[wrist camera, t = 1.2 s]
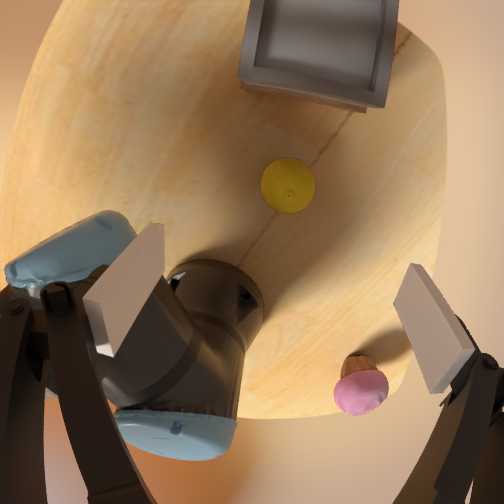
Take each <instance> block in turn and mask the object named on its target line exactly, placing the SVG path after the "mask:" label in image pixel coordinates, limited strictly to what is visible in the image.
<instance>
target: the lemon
mask: <svg viewBox="0 0 504 504" xmlns="http://www.w3.org/2000/svg"><path fill="white" fill-rule="evenodd" d="M261 192H262V195H263V197H264V199H265V201H266V202H267V204H268V205H269V206H270V207H271V208H273V209H274V210H276V211H278V212H280V213H285V214H292V213H296V212H299V211H301V210H303V209H304V208H305V207H306V206H308V205H309V203H310V202H311V200H312V198H313V196H314V192H315V180H314V176H313V174H312V172H311V170H310V169H309V168H308V167H307V166H306V165H305V164H304V163H303V162H301V161H299V160H297V159H293V158H282V159H278V160H276V161H274V162H272V163H271V164H270V165H269V166H268V167H267V168H266V169H265V171H264V173H263V175H262V178H261Z"/></svg>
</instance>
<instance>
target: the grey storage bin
mask: <svg viewBox="0 0 504 504" xmlns="http://www.w3.org/2000/svg"><path fill="white" fill-rule="evenodd" d="M398 8H399V0H251V1H250V6H249V12H248V17H247V23H246V28H245V34H244V40H243V46H242V51H241V57H240V64H239V70H238V76H237V77H238V78H239V79H241V80H242V81H241V89H243V90H245V91H250V92H257V93H264V94H271V95H277V96H283V97H289V98H294V99H299V100H304V101H309V102H314V103H319V104H323V105H327V106H332V107H336V108H340V109H344V110H348V111H352V112H359V113H366V109H367V107H371V108H384V107H385V102H386V97H387V91H388V85H389V79H390V73H391V67H392V60H393V53H394V45H395V37H396V29H397V19H398Z"/></svg>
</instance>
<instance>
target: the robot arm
mask: <svg viewBox="0 0 504 504" xmlns="http://www.w3.org/2000/svg"><path fill="white" fill-rule="evenodd" d="M164 271H165V256H164V224H158V223H150V224H149V225H148V226H147V227H146V228H145V229H144V230H143V231H142V232H141V233H140V234H139V235H137V234H136V232H135V231H134V229H133V228H132V226H131V225H130V223H129V221H128V220H127V219H126V218H125V216H123V215H122V214H121V213H119V212H116V211H112V210H105V211H101V212H98V213H96V214H94V215H91V216H89V217H87V218H85V219H83V220H81V221H79V222H77V223H75V224H73V225H71V226H69V227H67V228H65V229H63V230H62V231H60V232H58V233H56V234H54V235H52V236H51V237H49V238H47V239H45V240H44V241H42V242H40V243H39V244H37V245H35V246H34V247H32V248H31V249H29V250H27V251H26V252H24V253H22V254H21V255H19V256H17V257H16V258H15V259H13V260H12V261H10V262H9V263H8V264H6V266H5V268H4V272H5V275H6V281H7V283H8V284H9V285H7V286H6V287H5V288H4V289H3V290H2V291H1V292H0V504H48V502H47V494H46V484H45V471H44V443H43V434H44V433H43V431H44V403H45V402H46V401H47V400H48V399H50V398H51V397H53V398H56V399H59V403H60V408H61V411H62V415H63V419H64V423H65V426H66V430H67V433H68V436H69V440H70V443H71V446H72V449H73V452H74V455H75V458H76V461H77V464H78V466H79V469H80V472H81V474H82V477H83V480H84V482H85V485H86V487H87V490H88V497H87V499H88V504H157V502H156V501H155V499H154V498H153V496H152V494H151V492H150V491H149V489H148V487H147V485H146V483H145V482H144V480H143V478H142V476H141V474H140V472H139V470H138V469H137V467H136V465H135V463H134V461H133V459H132V457H131V455H130V453H129V451H128V448H127V446H126V444H125V442H124V441H126V442H127V443H129V444H131V445H133V446H135V447H137V448H140V449H142V450H144V451H147V452H150V453H153V454H156V455H160V456H164V457H169V458H174V459H181V460H209V459H214V458H217V457H219V456H221V455H222V454H224V453H225V452H226V451H227V450H228V449H229V448H230V446H231V442H232V439H233V435H234V432H235V428H236V427H237V422H236V417H237V410H238V402H239V395H240V388H241V380H242V373H243V366H244V358H245V353H246V351H247V350H248V348H249V347H250V345H251V344H252V342H253V340H254V339H255V337H256V336H257V334H258V332H259V331H260V328H261V325H262V321H263V311H264V304H263V299H262V296H261V293H260V291H259V289H258V288H257V286H256V285H255V283H254V282H253V281H252V280H251V279H250V278H249V277H248V276H247V275H246V274H245V273H243V272H242V271H240V270H239V269H237V268H235V267H233V266H231V265H229V264H226V263H223V262H219V261H214V260H195V261H190V262H187V263H184V264H182V265H180V266H178V267H177V268H175V269H174V270H173V271H172V272H171V273H170V274H169V275H168V276H167V278H166V279H165V278H164V276H163V275H162V274H163V273H164ZM393 305H394V307H395V309H396V311H397V313H398V316H399V318H400V320H401V322H402V325H403V327H404V329H405V332H406V334H407V336H408V339H409V341H410V344H411V346H412V348H413V351H414V353H415V356H416V358H417V361H418V363H419V366H420V368H421V371H422V374H423V377H424V379H425V382H426V385H427V388H428V390H429V393H430V394H436V393H443V392H444V391H445V389H446V388H447V387H448V386H449V384H450V385H451V388H452V391H451V392H450V393H449V394H448V396H447V397H446V398H445V399H444V400H443V401H442V402H441V404H440V405H439V406H442V405H443V404H444V407H443V409H442V412H441V414H440V417H439V419H438V421H437V423H436V425H435V428H434V430H433V432H432V434H431V436H430V439H429V441H428V443H427V445H426V447H425V449H424V451H423V453H422V454H421V456H420V458H419V460H418V462H417V464H416V466H415V467H414V469H413V471H412V473H411V475H410V476H409V478H408V480H407V481H406V483H405V485H404V487H403V488H402V490H401V491H400V493H399V494H398V496H397V497H396V499H395V501H394V502H393V504H465V499H466V496H467V494H468V491H469V489H470V486H471V483H472V481H473V486H472V492H471V498H470V503H469V504H504V412H503V411H502V408H503V407H504V368H500V367H499V365H498V363H497V361H496V360H495V359H494V358H493V357H492V356H491V355H489V354H487V353H481V351H480V350H479V348H478V346H477V345H476V343H475V341H474V339H473V338H472V336H471V335H470V333H469V331H468V329H466V326H465V324H464V323H463V321H462V320H461V319H460V318H459V317H458V316H457V315H456V314H454V313H453V311H452V309H451V308H450V306H449V304H448V303H447V302H446V300H445V298H444V297H443V295H442V294H441V292H440V291H439V289H438V288H437V287H436V285H435V284H434V282H433V281H432V279H431V278H430V276H429V275H428V274H427V272H426V271H425V269H424V268H423V267H422V265H419V264H414V263H410V265H409V267H408V270H407V272H406V275H405V277H404V279H403V282H402V284H401V287H400V289H399V291H398V294H397V296H396V298H395V300H394V303H393ZM106 398H107V399H108V400H109V401H110V402H111V403H113V404H114V405H115V406H116V409H117V410H116V412H114V413H113V414H112V412H111V409H110V407H109V404H108V402H107V399H106ZM473 478H474V480H473Z"/></svg>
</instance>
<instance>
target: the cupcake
mask: <svg viewBox="0 0 504 504" xmlns="http://www.w3.org/2000/svg"><path fill="white" fill-rule="evenodd" d="M340 376H341V380H339V382H338V383H337V384H336V386H335V389H334V399H335V402H336V405H337V406H338V407H339V408H340V409H341V410H343V411H344V412H347V413H349V414H350V415H363V414H366V413H369V412H370V411H372V410H374V409H375V408H376V407H378V406H379V405H380V404H381V403H382V401H384V400H385V399H386V398H387V395H388V391H389V385H388V380H387V378H386V376H385V375H384V373H383V372H381V371H379V370H378V369H377V367H376V366H375V364H374V363H373V361H372V360H371V359H370V358H368V357H366V356H364V355H361V356H357V357H348V358H346V360H345V361H344V364H343V366H342V369H341V375H340Z"/></svg>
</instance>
